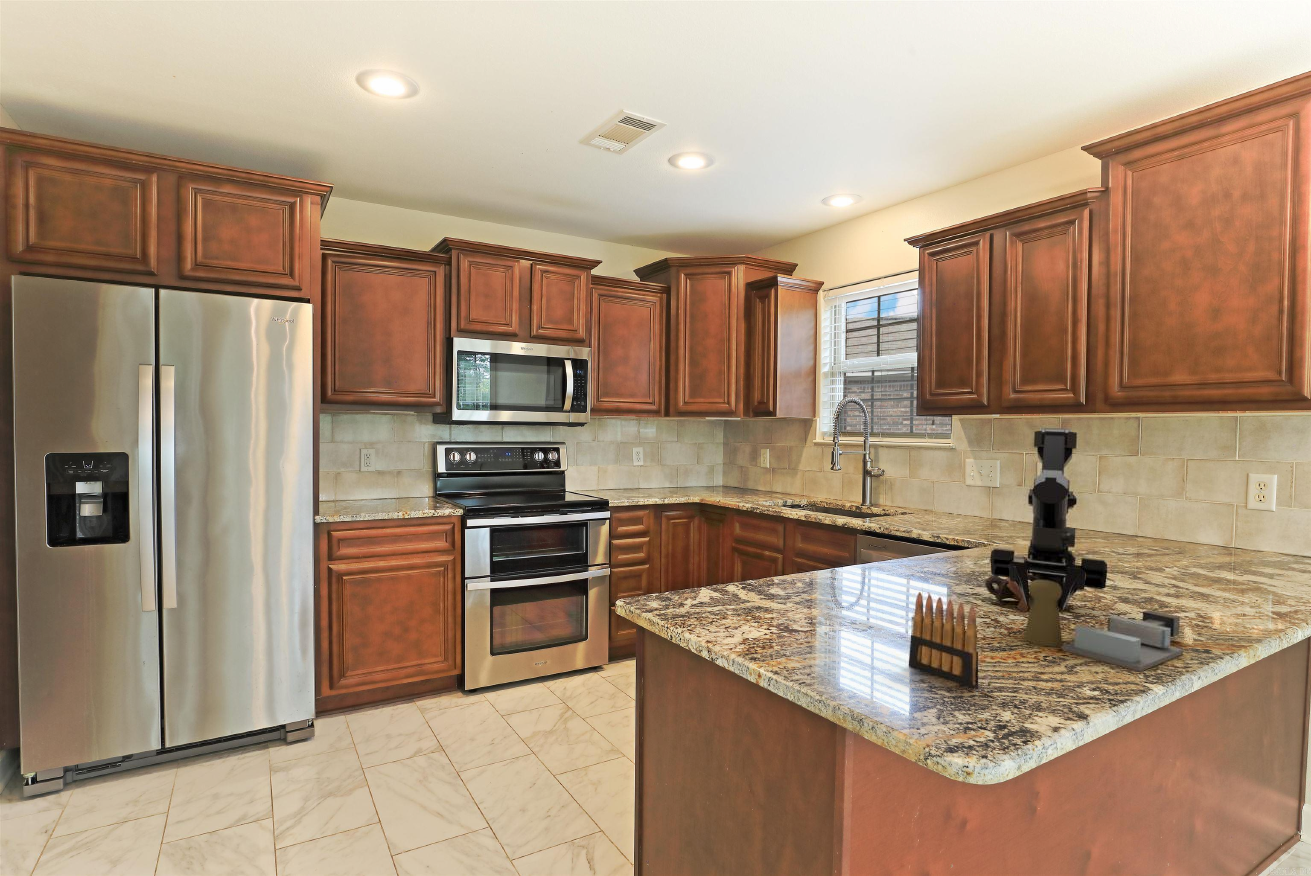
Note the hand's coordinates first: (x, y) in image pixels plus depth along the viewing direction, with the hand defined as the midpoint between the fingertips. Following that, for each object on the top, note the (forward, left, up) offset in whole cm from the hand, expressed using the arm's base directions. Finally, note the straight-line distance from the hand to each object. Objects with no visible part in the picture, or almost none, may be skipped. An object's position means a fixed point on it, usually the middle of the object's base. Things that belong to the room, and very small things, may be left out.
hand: (1044, 606), depth 125 cm
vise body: (+13, +8, -7) cm, 16 cm away
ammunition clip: (-9, -30, -7) cm, 32 cm away
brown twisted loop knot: (-10, +26, -7) cm, 29 cm away
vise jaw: (+15, +15, -5) cm, 21 cm away
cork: (0, +1, -7) cm, 7 cm away
